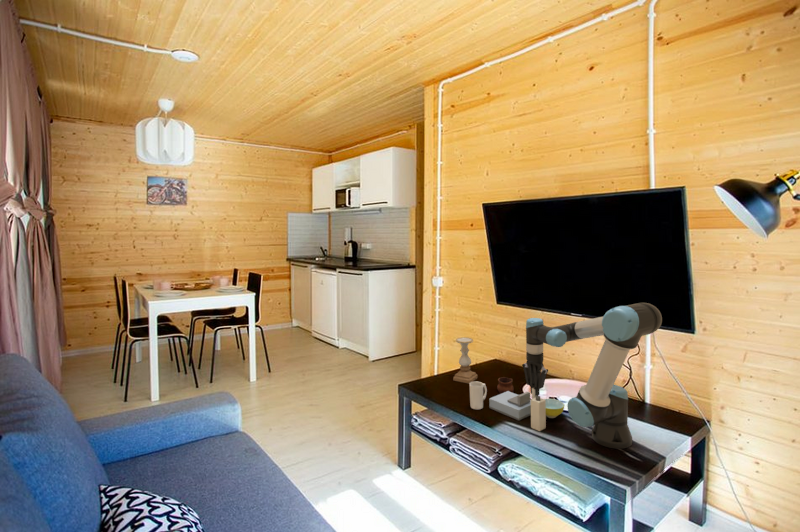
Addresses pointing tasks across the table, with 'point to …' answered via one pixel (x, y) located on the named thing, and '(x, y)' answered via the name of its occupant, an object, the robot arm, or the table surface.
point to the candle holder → (465, 363)
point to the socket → (509, 406)
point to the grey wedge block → (520, 399)
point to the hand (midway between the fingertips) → (535, 401)
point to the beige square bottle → (538, 413)
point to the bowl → (553, 408)
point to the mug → (477, 394)
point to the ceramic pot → (505, 385)
